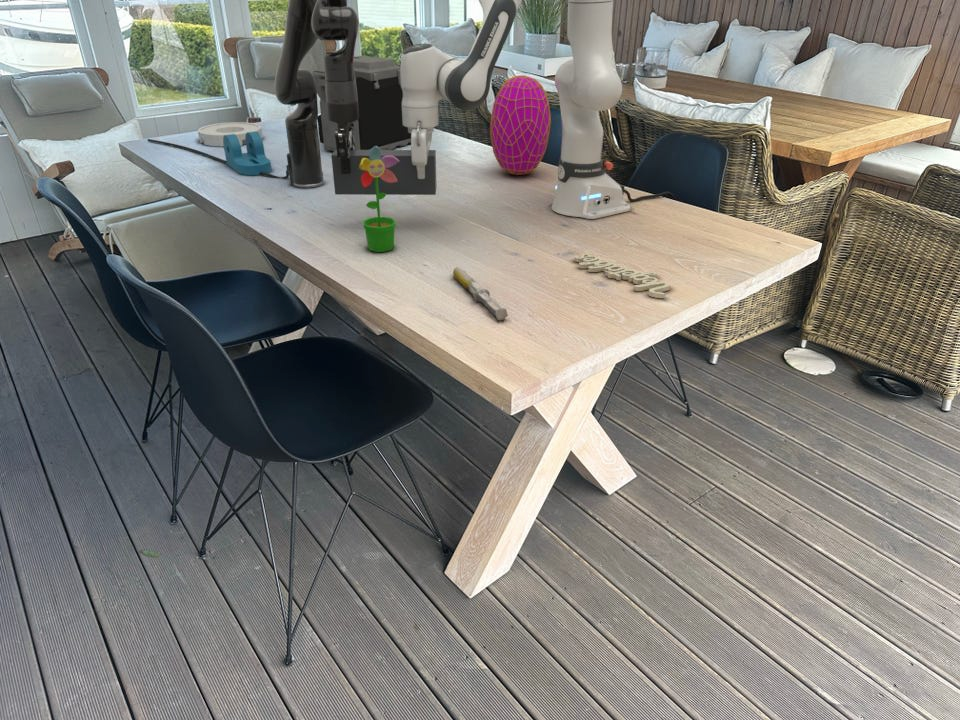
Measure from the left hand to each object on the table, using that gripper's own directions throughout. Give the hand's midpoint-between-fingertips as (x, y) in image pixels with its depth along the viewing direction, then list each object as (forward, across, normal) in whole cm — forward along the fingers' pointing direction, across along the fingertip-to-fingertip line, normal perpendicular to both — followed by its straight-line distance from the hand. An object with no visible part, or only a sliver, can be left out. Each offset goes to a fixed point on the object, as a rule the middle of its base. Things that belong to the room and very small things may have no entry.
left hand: (348, 169), depth 173 cm
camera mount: (+15, +57, +42) cm, 72 cm away
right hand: (+1, 0, -19) cm, 19 cm away
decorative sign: (+15, -31, -66) cm, 74 cm away
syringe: (+15, -42, -33) cm, 56 cm away
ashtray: (+15, +98, +61) cm, 117 cm away
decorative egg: (+15, +53, -47) cm, 72 cm away
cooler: (+15, +90, +6) cm, 91 cm away
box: (+5, 0, -9) cm, 11 cm away
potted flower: (+15, -15, -9) cm, 23 cm away
